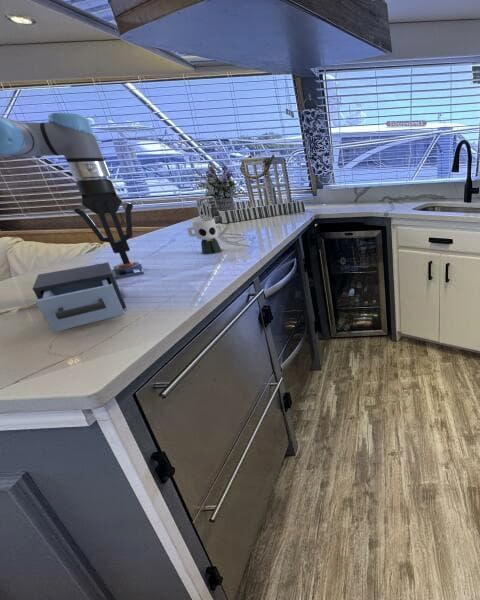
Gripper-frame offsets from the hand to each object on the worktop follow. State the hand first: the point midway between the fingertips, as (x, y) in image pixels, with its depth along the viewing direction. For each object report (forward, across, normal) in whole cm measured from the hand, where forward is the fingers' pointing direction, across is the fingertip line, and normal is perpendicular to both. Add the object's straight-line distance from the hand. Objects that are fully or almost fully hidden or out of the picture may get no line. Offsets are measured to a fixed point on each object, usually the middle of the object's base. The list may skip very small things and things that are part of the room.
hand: (126, 262), depth 96 cm
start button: (+2, 0, 0) cm, 2 cm away
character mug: (+5, +25, +8) cm, 27 cm away
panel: (+5, -3, 0) cm, 6 cm away
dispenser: (+5, -10, -22) cm, 25 cm away
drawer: (+4, -10, -32) cm, 34 cm away
